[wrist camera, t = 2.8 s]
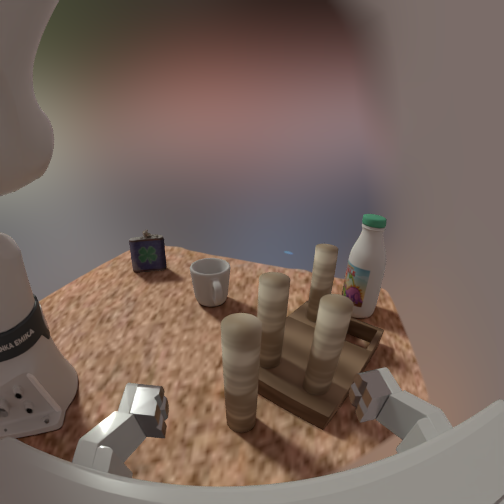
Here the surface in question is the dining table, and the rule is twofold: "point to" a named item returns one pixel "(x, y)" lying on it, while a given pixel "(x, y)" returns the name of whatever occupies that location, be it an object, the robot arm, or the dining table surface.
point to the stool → (310, 343)
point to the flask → (148, 253)
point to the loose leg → (241, 368)
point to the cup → (210, 281)
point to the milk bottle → (366, 267)
